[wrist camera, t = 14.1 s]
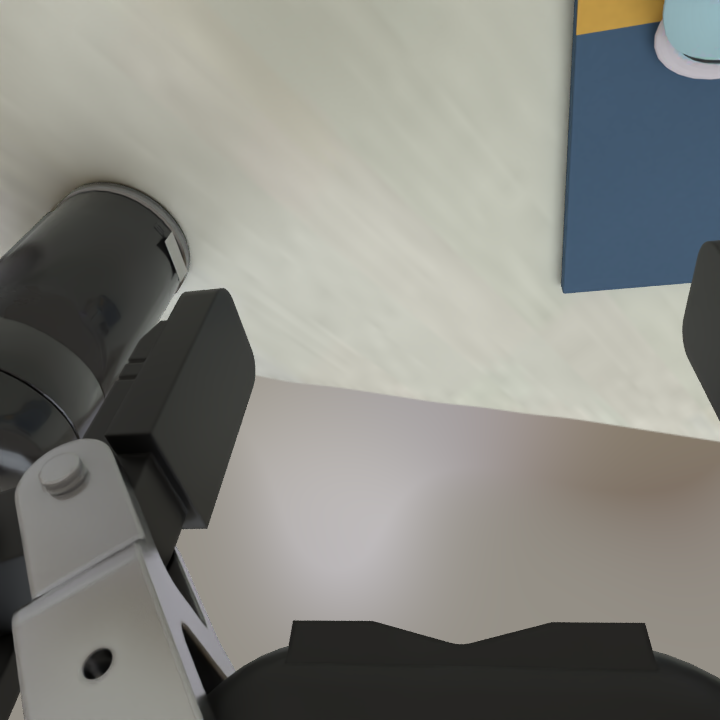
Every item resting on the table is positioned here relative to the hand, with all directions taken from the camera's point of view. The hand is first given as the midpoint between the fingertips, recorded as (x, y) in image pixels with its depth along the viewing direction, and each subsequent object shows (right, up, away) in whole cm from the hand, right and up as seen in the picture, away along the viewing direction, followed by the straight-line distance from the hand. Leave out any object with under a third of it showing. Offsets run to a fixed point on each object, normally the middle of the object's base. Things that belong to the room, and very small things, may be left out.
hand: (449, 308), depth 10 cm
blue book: (+17, +12, +22) cm, 31 cm away
